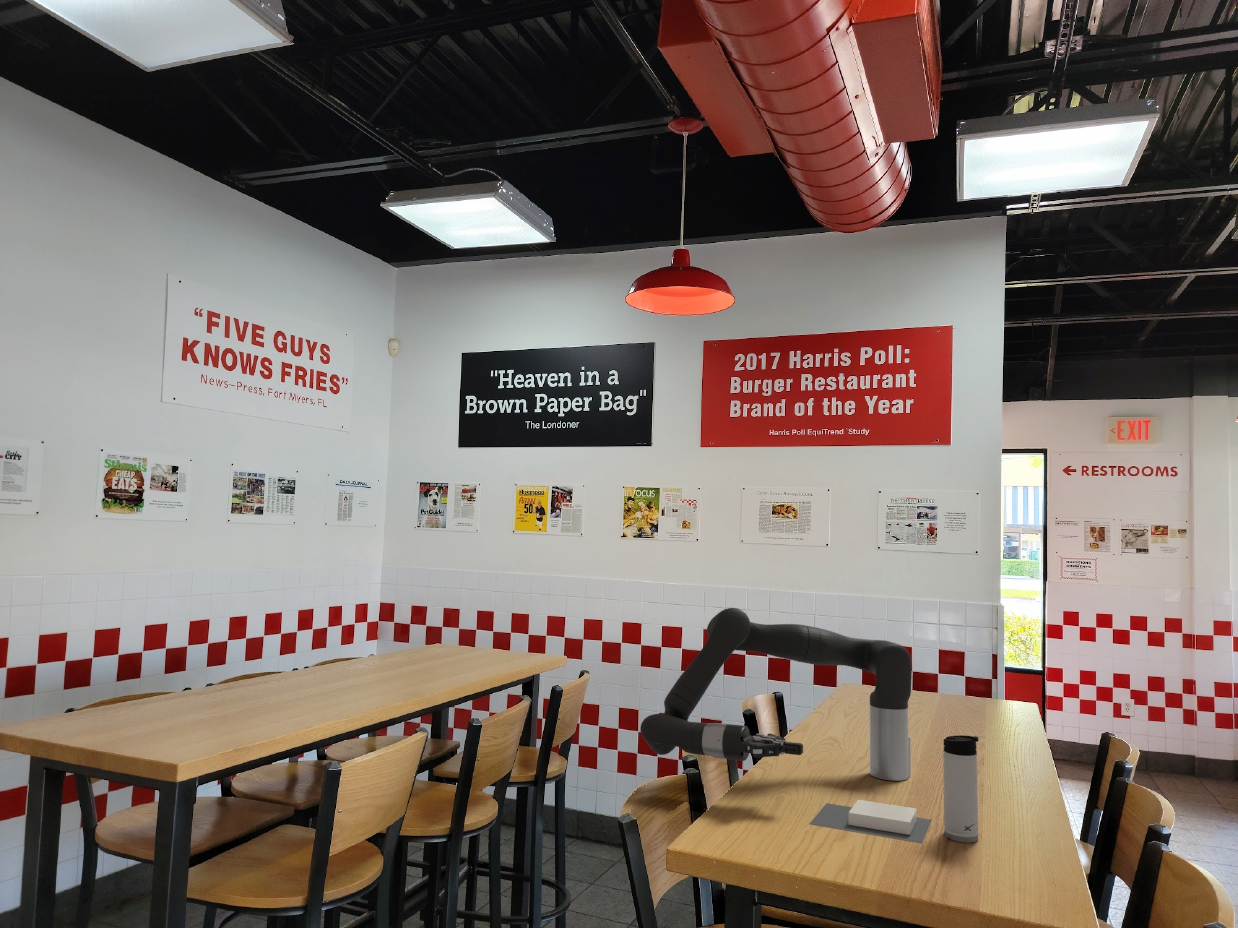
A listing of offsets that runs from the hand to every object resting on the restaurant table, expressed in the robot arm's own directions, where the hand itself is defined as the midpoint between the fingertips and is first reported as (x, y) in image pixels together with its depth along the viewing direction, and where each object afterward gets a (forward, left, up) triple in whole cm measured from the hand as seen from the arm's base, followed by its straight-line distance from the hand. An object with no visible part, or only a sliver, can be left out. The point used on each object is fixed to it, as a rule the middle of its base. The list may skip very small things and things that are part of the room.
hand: (802, 749), depth 184 cm
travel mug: (-17, +27, -13) cm, 35 cm away
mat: (-7, +13, -13) cm, 20 cm away
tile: (-5, +10, -11) cm, 16 cm away
